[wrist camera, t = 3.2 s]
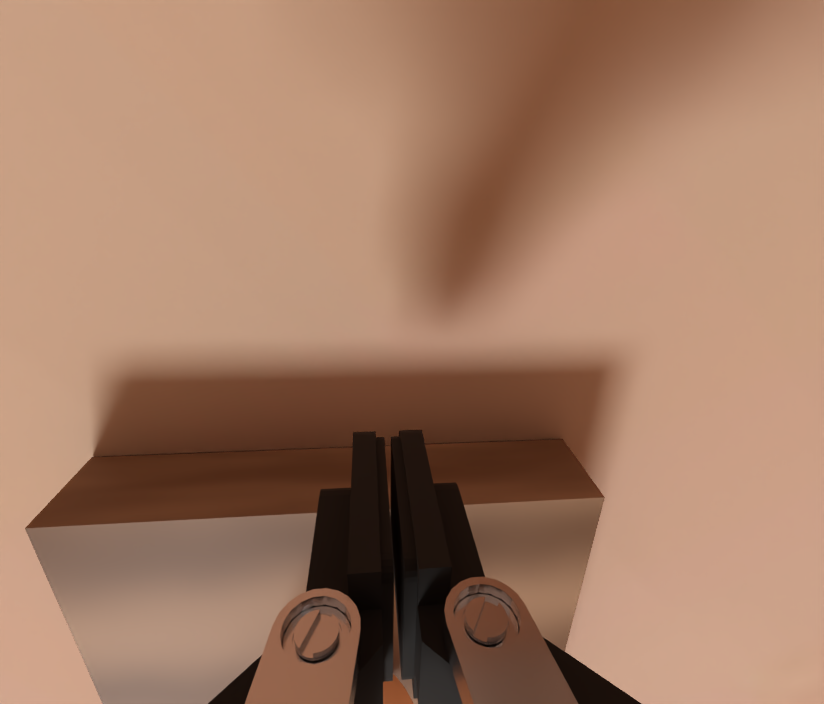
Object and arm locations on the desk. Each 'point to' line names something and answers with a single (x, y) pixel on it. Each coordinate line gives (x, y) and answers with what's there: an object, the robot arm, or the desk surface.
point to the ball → (395, 692)
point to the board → (275, 552)
